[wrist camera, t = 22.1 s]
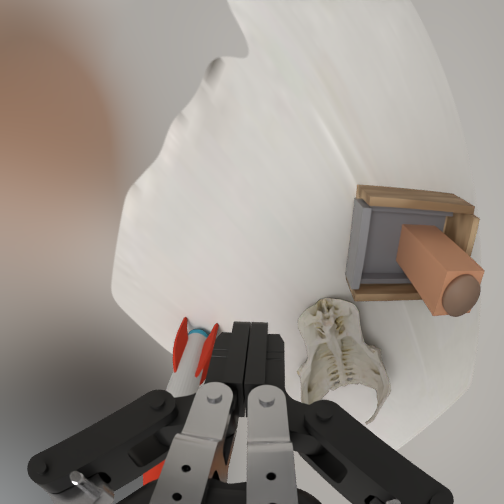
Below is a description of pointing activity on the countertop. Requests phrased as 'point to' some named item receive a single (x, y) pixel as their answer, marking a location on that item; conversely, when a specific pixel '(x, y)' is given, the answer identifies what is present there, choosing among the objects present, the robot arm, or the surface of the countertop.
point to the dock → (455, 227)
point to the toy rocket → (187, 370)
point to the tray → (382, 241)
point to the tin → (439, 270)
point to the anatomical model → (338, 353)
